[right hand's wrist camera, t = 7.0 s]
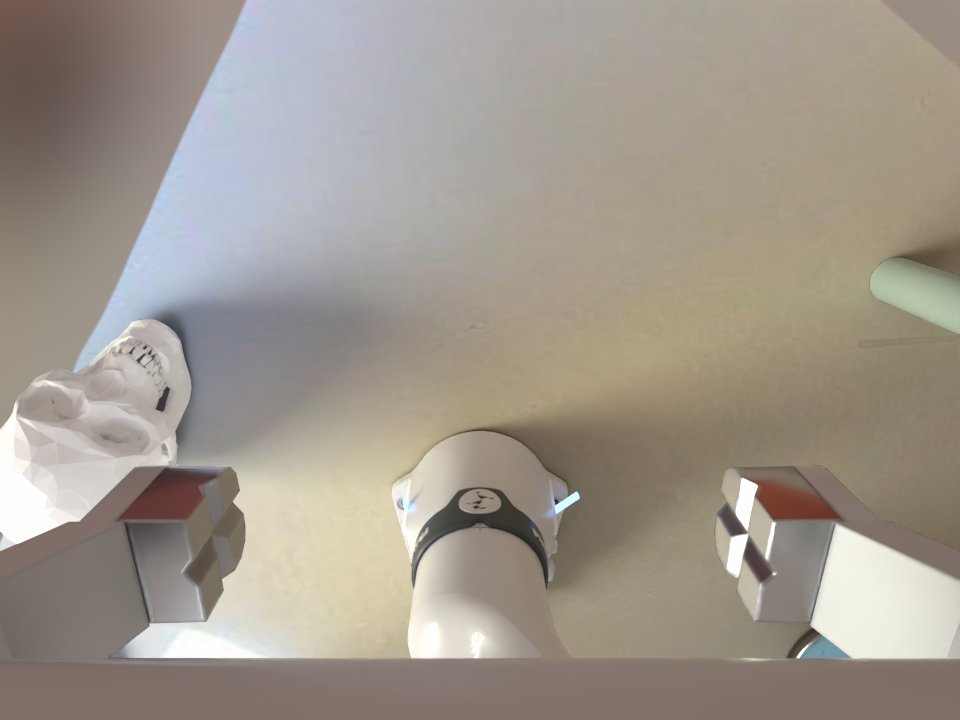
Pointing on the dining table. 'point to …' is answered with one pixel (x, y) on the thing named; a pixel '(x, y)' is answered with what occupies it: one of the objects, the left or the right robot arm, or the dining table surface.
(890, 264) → the green bottle
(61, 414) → the skull
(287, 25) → the dining table surface
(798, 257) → the dining table surface
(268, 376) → the dining table surface
